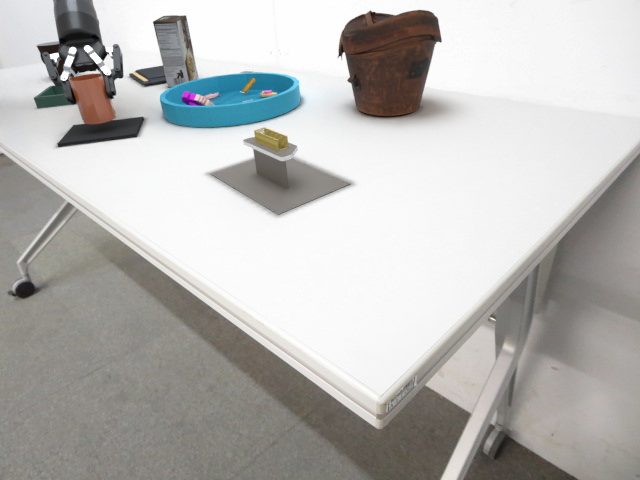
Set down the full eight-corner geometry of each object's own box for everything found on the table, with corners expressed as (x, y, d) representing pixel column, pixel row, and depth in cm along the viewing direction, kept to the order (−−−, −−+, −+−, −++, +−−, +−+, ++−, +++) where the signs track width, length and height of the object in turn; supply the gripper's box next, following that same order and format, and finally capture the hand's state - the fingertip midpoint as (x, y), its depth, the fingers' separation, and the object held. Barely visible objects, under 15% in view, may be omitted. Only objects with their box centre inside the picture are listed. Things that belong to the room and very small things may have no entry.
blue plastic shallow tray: (133, 121, 93) (125, 92, 90) (219, 86, 116) (214, 62, 113) (253, 133, 81) (249, 100, 78) (323, 91, 104) (321, 65, 101)
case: (360, 93, 100) (359, 4, 91) (448, 99, 91) (457, 1, 82) (321, 115, 88) (315, 14, 78) (419, 125, 79) (425, 13, 69)
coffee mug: (66, 73, 147) (55, 41, 142) (84, 74, 144) (73, 41, 138) (34, 81, 138) (20, 47, 133) (52, 83, 135) (39, 47, 130)
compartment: (37, 108, 108) (33, 98, 107) (53, 95, 120) (49, 85, 118) (95, 101, 110) (92, 91, 109) (106, 89, 122) (103, 80, 120)
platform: (276, 151, 72) (271, 111, 69) (350, 183, 60) (349, 136, 57) (210, 173, 66) (201, 130, 63) (278, 214, 54) (271, 164, 51)
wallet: (195, 71, 126) (140, 80, 120) (196, 78, 127) (142, 87, 121) (176, 62, 141) (127, 69, 135) (178, 68, 142) (129, 76, 136)
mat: (58, 146, 82) (56, 143, 82) (74, 127, 92) (73, 124, 92) (136, 136, 84) (135, 133, 84) (144, 119, 94) (143, 116, 94)
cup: (80, 126, 84) (64, 82, 79) (87, 117, 89) (73, 75, 84) (113, 121, 85) (99, 78, 80) (118, 113, 90) (105, 72, 85)
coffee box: (176, 78, 126) (163, 15, 117) (199, 77, 125) (187, 14, 116) (166, 87, 118) (151, 20, 109) (190, 86, 118) (177, 19, 109)
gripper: (28, 13, 81) (41, 93, 78) (111, 5, 84) (127, 82, 81) (45, 41, 88) (58, 115, 85) (121, 33, 92) (136, 104, 88)
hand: (91, 99), depth 83 cm, fingers closed on cup, 6 cm apart
